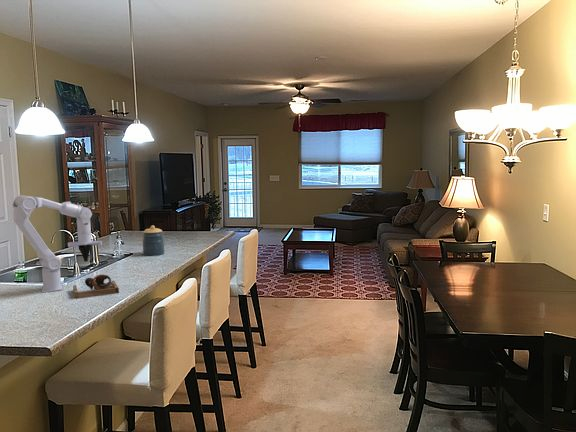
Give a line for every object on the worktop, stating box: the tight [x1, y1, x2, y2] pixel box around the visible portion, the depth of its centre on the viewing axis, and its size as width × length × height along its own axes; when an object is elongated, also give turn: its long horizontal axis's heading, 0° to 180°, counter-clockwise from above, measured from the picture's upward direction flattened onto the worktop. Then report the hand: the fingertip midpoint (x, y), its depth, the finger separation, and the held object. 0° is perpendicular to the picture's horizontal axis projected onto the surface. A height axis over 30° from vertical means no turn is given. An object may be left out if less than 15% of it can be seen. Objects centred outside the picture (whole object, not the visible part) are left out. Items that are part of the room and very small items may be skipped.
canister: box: [141, 225, 166, 257], centre depth 296 cm, size 13×13×18 cm
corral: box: [72, 280, 120, 299], centre depth 214 cm, size 14×17×2 cm
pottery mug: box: [84, 274, 113, 291], centre depth 215 cm, size 12×10×8 cm
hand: (86, 261), depth 229 cm, fingers closed
